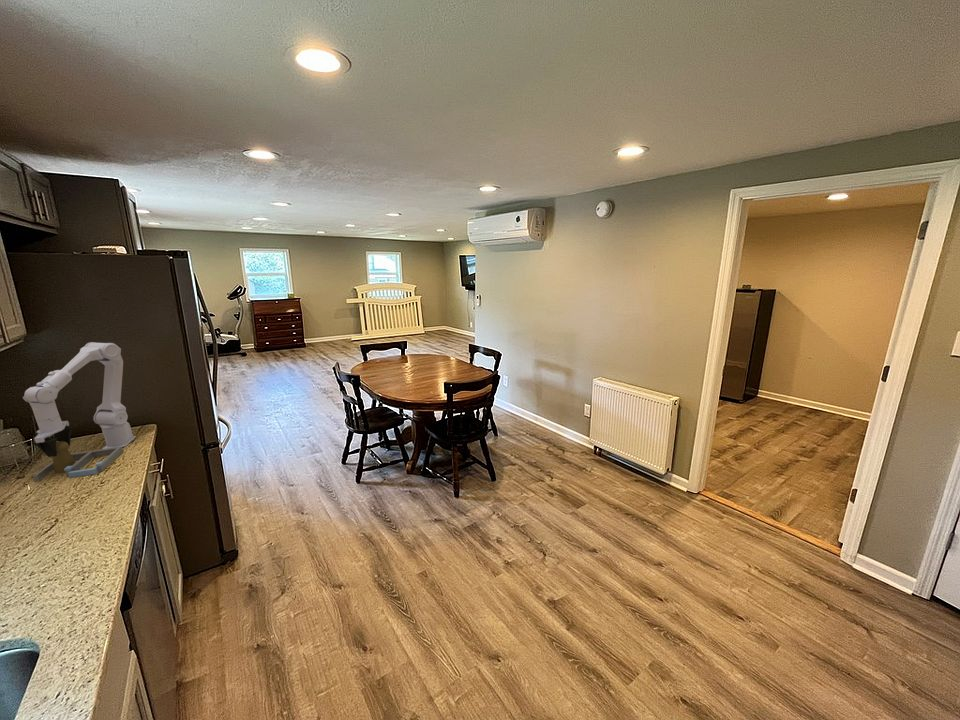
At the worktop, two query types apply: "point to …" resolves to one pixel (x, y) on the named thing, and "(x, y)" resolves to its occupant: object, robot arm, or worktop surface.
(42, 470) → the blue open frame
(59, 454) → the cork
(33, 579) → the worktop surface
